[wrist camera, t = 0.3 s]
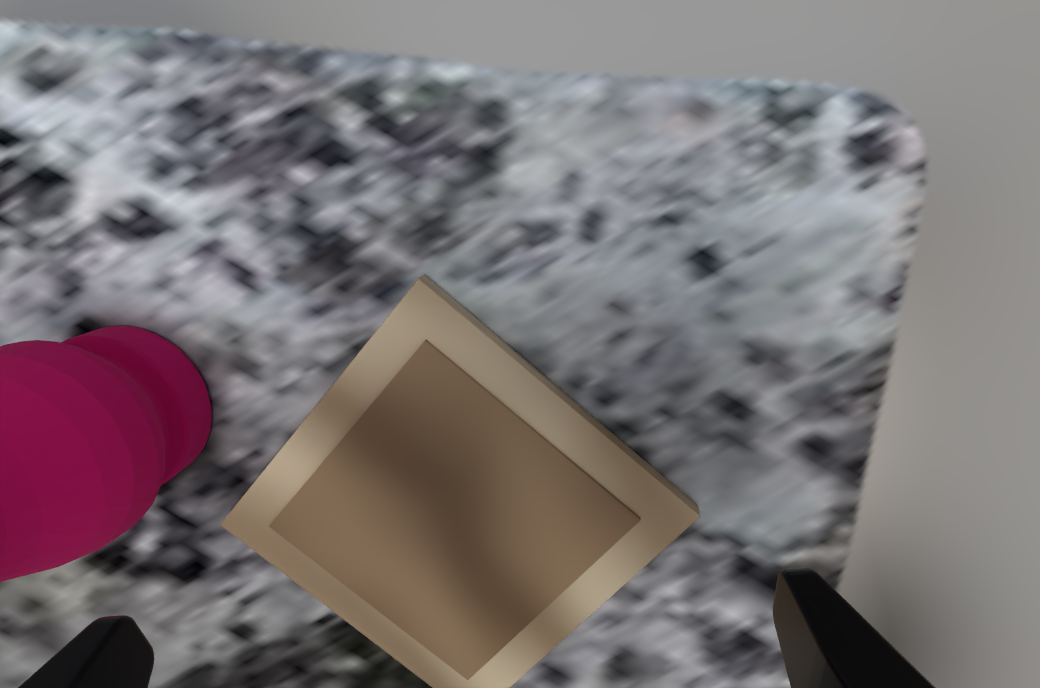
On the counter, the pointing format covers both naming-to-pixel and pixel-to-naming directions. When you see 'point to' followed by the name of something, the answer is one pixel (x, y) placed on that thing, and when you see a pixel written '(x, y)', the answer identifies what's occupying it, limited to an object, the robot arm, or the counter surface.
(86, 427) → the pepper mill
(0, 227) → the counter surface
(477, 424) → the beech tray
